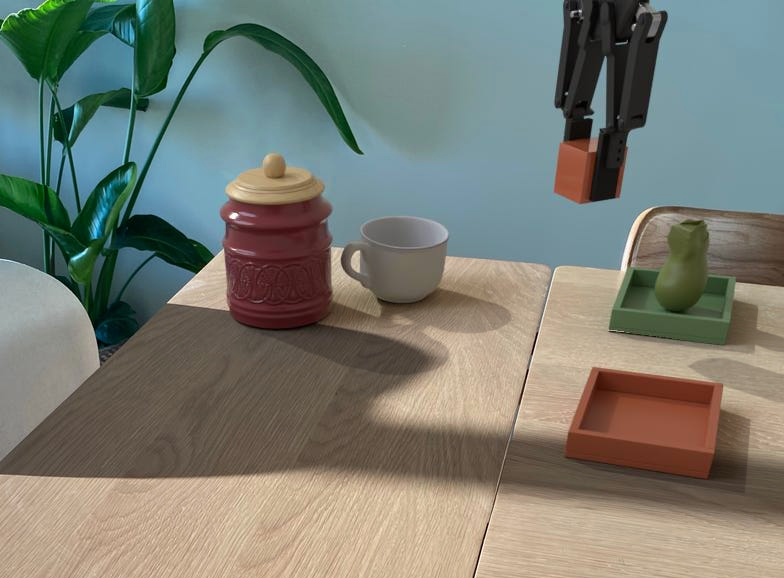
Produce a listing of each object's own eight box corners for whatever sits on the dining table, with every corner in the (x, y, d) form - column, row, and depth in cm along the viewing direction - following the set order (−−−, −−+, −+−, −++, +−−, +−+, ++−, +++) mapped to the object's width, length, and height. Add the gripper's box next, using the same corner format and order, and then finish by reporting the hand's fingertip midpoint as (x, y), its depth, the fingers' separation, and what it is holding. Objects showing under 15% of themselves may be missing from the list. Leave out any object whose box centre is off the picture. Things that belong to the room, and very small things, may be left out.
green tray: (724, 345, 108) (730, 322, 106) (608, 331, 112) (612, 309, 110) (730, 298, 118) (736, 276, 117) (624, 287, 122) (628, 266, 120)
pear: (708, 314, 113) (730, 224, 107) (669, 321, 112) (689, 231, 105) (678, 297, 117) (698, 210, 111) (641, 304, 116) (658, 216, 110)
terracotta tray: (707, 479, 86) (714, 453, 85) (563, 457, 90) (568, 431, 88) (717, 407, 97) (723, 383, 95) (588, 390, 100) (592, 366, 99)
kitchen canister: (354, 314, 117) (355, 155, 106) (261, 340, 112) (252, 176, 101) (297, 283, 126) (292, 133, 115) (208, 305, 121) (194, 151, 110)
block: (619, 197, 103) (628, 146, 100) (579, 204, 102) (587, 152, 99) (592, 186, 107) (599, 136, 104) (553, 192, 106) (559, 142, 103)
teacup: (423, 274, 127) (427, 210, 122) (459, 303, 119) (464, 236, 114) (323, 289, 124) (322, 224, 119) (353, 320, 116) (353, 252, 111)
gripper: (537, -79, 95) (511, 176, 110) (653, -68, 82) (607, 220, 97) (601, -84, 97) (568, 168, 112) (725, -73, 84) (669, 210, 99)
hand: (586, 192), depth 104 cm, fingers closed on block, 5 cm apart
